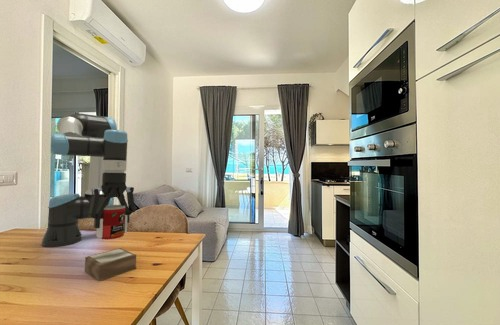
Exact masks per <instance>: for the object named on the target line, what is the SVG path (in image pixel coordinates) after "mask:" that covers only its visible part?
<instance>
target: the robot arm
mask: <svg viewBox="0 0 500 325" xmlns="http://www.w3.org/2000/svg"><path fill="white" fill-rule="evenodd" d="M56 128H57V131H58V133H53V134H51V135H50V136H51V138H50V153H51V154H52V155H60V156H64V157H65V156H71V157H72V156H73V157H75V156H77V157H89V173H88V175H89V176H88V189H87V190H86V191H85V192H84V195H82V196H80V194H79V193H70V194H68V193H67V194H62V195H57V196H53V197H51V198H50V199H49V201H48V207H47V209H48V213H47V214H48V217H47V229H46V231H45V233H44V235H43V237H42V240H41V246H43V247H44V248H45V247H46V248H48V247H49V248H52V247H62V246H68V245H72V244H76V243H78V242H81V241H82V237H83V235H82V233H81V230H80V227H79V220H85V219H94V220H93V226H94V229H96V238H99V239H101V238H102V233H103V219H102V218H101V216H102V214H103V212H104V208H105V207H106V206H107V205H114V200H115V198H116V199H117V200H118V202H119V205H122V206H124V205H125V230H124V234H126V233H127V232H128V224H129V223H130V216H131V215H132V213H135V212H136V208H135V198H134V190H135V188H134V187H132V186H127V184H126V183H127V173H126V172H127V162H128V161H127V159H128V156H127V155H128V141H129V140H128V132H126V131H124V130H120V129H118V126H117V122H116V120H115V119H114V118H112V117H108V116H101V115H94V114H88V113H87V114H86V113H79V112H78V113H70V114H67V115H63V116H62V117H60V118H59V119H58V121H57V124H56ZM124 192H126V198H125V195H124ZM126 199H127V201H126Z"/></svg>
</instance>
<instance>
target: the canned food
mask: <svg viewBox="0 0 500 325" xmlns="http://www.w3.org/2000/svg"><path fill="white" fill-rule="evenodd" d="M101 218H102V219H103V233H102V238H100V239H101V240H115V239H120V238H123V236H124V235H125V233H124V230H125V205H124V206H122V205H121V204H113V205H107V206H106V207H105V208H104V212H103V214H102V216H101Z"/></svg>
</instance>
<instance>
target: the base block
mask: <svg viewBox="0 0 500 325" xmlns="http://www.w3.org/2000/svg"><path fill="white" fill-rule="evenodd" d="M84 259H85V262H84V272H85V273H86V274H88V275H90V276H91V277H93V278H94V279H95V280H97V281H98V282H101V281H103V280H106V279H107V280H108V279H110V278H112V277H116V276H119V275H122V274H124V273H127V272H129V271H133V270H136V269H137V254H136V253H133V252H130V251H128V250H126V249H124V248H116V249H112V250H108V251H104V252H100V253H96V254H93V255H88V256H85V258H84Z"/></svg>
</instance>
